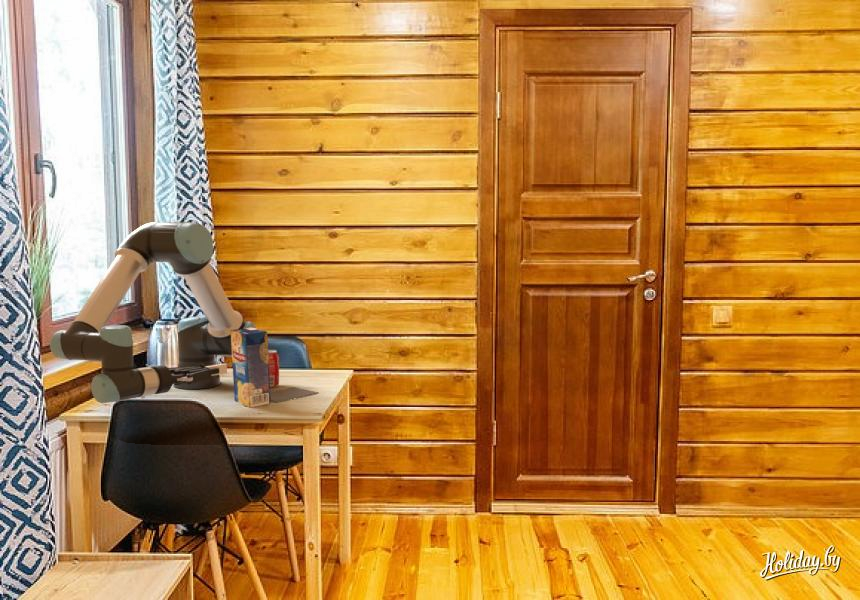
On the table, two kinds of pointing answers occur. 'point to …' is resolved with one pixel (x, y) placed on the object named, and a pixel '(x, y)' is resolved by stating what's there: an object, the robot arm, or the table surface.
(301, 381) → the table surface
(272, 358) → the soda can
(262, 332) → the cardboard food box
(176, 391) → the table surface
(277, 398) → the mat
